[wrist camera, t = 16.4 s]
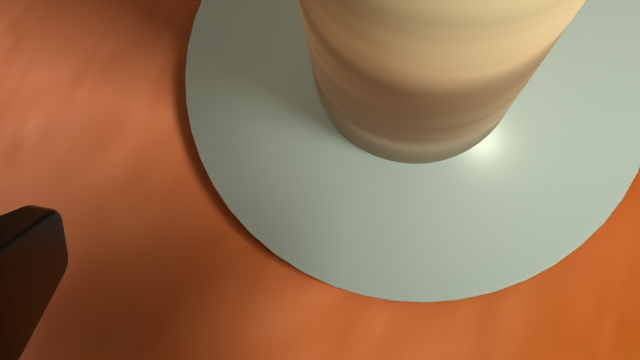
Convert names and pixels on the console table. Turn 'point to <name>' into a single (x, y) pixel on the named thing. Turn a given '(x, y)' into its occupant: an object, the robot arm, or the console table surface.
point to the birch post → (426, 68)
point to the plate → (414, 179)
